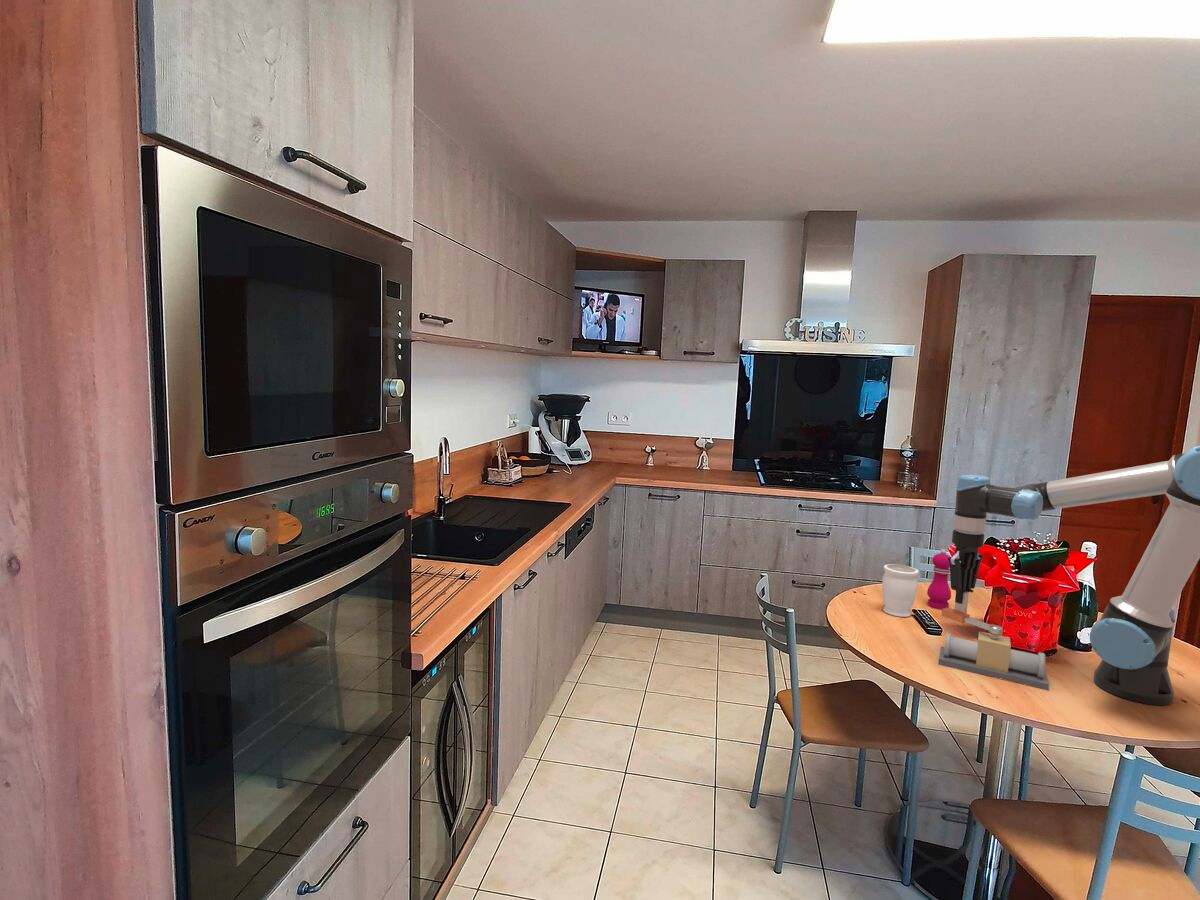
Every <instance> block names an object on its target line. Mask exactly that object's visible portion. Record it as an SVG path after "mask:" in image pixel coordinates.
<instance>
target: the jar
mask: <svg viewBox="0 0 1200 900" xmlns="http://www.w3.org/2000/svg"><path fill="white" fill-rule="evenodd" d="M883 570H884V573H883V575H882V581H881V582H882V583H881V590H882V591H881V592H882V601H883V604H884V606H883V608H882V609H883V611H884V612H885V613H886V614H888V615H890V616H894V617H898V618H899V617H900V618H901V617H902V618H906V617H910V616H911V615H912V611H911V609H912V608H913V606H914V604H915V600H916V596H917V592H918V578H917V576H918V575H919V570H918V569H917V568H915V567H911V566H909V565H904V564H894V563H891V564H890V563H889V564H885V565H883Z"/></svg>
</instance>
